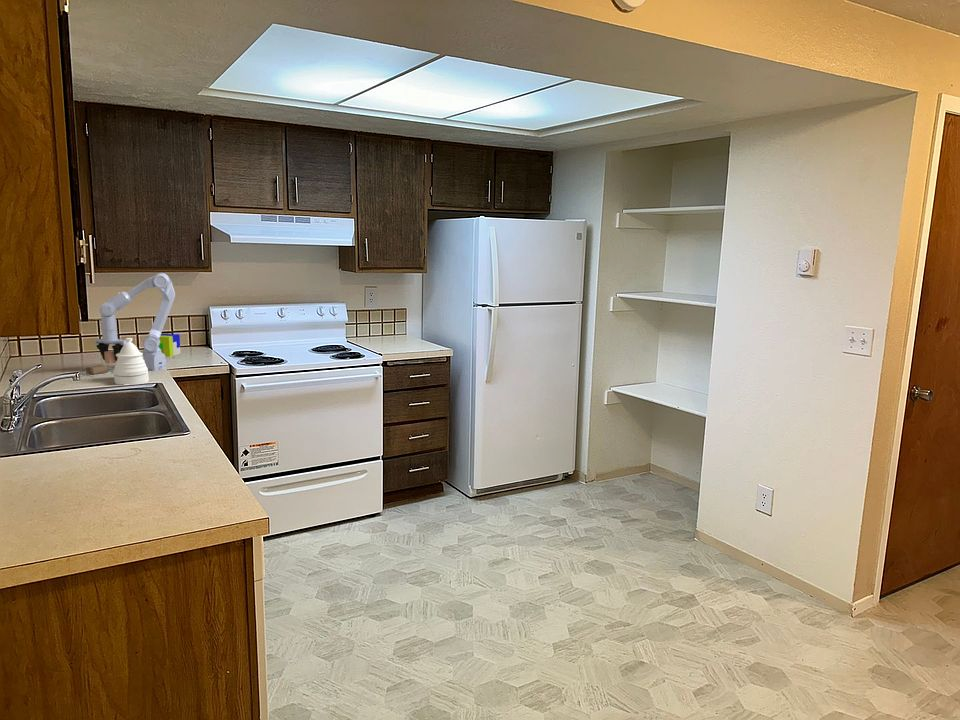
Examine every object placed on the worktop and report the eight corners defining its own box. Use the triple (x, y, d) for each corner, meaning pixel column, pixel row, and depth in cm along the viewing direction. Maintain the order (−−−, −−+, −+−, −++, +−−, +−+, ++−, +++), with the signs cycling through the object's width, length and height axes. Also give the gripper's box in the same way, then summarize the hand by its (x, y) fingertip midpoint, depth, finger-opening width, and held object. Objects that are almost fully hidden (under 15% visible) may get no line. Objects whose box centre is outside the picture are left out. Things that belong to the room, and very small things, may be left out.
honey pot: (115, 379, 284) (112, 337, 281) (149, 377, 290) (146, 336, 286) (112, 385, 273) (109, 342, 270) (148, 383, 278) (145, 340, 275)
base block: (107, 373, 292) (107, 366, 291) (93, 375, 287) (93, 368, 286) (99, 371, 295) (99, 364, 294) (85, 373, 290) (85, 366, 289)
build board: (132, 372, 299) (132, 369, 299) (91, 379, 284) (91, 376, 284) (116, 369, 305) (116, 366, 305) (76, 375, 290) (76, 372, 290)
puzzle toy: (180, 353, 349) (179, 334, 347) (169, 356, 339) (168, 337, 337) (162, 352, 350) (161, 333, 348) (151, 355, 340) (149, 336, 338)
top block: (118, 362, 298) (118, 351, 298) (110, 363, 295) (109, 352, 294) (113, 361, 300) (112, 350, 300) (104, 362, 297) (103, 351, 296)
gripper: (130, 329, 298) (132, 359, 300) (100, 328, 300) (103, 357, 303) (119, 331, 291) (122, 362, 294) (89, 330, 293) (92, 360, 296)
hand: (111, 360), depth 298 cm, fingers closed on top block, 5 cm apart
